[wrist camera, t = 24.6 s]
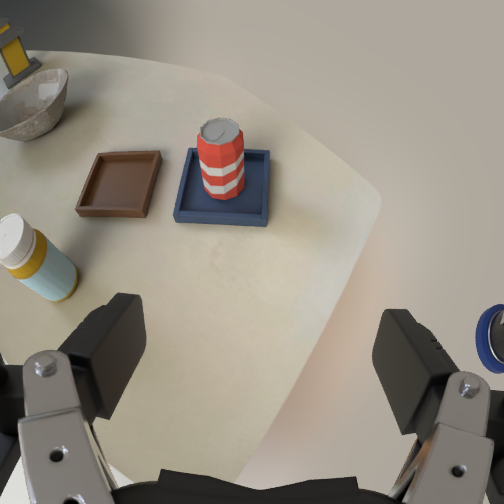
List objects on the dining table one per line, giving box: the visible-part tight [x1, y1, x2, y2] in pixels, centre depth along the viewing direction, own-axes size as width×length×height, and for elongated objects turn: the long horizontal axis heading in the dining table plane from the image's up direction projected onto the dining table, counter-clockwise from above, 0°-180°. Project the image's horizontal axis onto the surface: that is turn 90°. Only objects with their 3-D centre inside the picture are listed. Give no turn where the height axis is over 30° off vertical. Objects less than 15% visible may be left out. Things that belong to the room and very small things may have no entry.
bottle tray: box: [75, 151, 162, 218], centre depth 50 cm, size 12×12×2 cm
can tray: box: [173, 148, 270, 227], centre depth 49 cm, size 14×14×2 cm
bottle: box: [0, 214, 78, 302], centre depth 36 cm, size 7×7×15 cm
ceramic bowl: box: [0, 68, 68, 142], centre depth 55 cm, size 22×23×10 cm
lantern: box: [0, 18, 41, 89], centre depth 61 cm, size 14×14×30 cm
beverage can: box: [197, 118, 244, 200], centre depth 44 cm, size 6×6×12 cm
